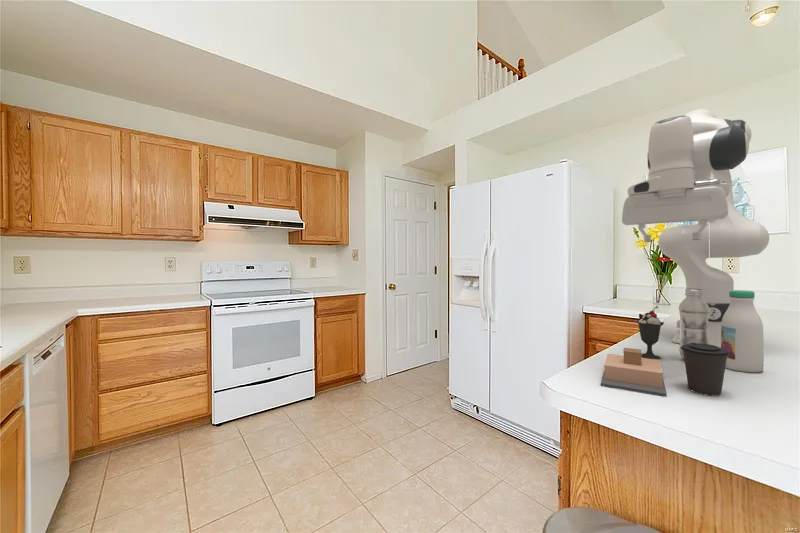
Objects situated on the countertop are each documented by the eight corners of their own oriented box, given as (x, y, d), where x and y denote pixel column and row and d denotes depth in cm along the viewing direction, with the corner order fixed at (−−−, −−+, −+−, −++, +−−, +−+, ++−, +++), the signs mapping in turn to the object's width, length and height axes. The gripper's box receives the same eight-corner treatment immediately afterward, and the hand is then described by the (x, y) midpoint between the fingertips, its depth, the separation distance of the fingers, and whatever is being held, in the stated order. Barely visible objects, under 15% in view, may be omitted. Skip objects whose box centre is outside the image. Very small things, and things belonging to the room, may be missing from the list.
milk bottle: (762, 367, 88) (762, 290, 87) (764, 375, 82) (764, 293, 82) (721, 361, 93) (721, 288, 93) (720, 369, 88) (720, 291, 87)
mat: (606, 364, 94) (606, 362, 94) (661, 371, 87) (661, 369, 87) (600, 385, 79) (600, 383, 79) (666, 396, 72) (666, 393, 72)
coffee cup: (682, 381, 80) (682, 338, 80) (730, 389, 75) (730, 344, 74) (678, 391, 74) (678, 346, 74) (730, 401, 69) (730, 352, 68)
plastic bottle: (717, 365, 91) (716, 290, 90) (687, 364, 92) (687, 290, 91) (700, 358, 97) (700, 287, 96) (673, 357, 98) (673, 288, 98)
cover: (607, 366, 90) (607, 342, 90) (659, 373, 84) (659, 347, 84) (604, 378, 81) (604, 352, 81) (662, 388, 75) (662, 359, 75)
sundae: (666, 361, 95) (666, 307, 94) (637, 358, 98) (636, 306, 98) (662, 355, 101) (662, 304, 100) (634, 352, 104) (634, 303, 103)
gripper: (726, 180, 80) (726, 239, 80) (622, 191, 92) (622, 243, 92) (732, 175, 75) (732, 238, 75) (621, 188, 87) (621, 242, 87)
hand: (671, 241), depth 84 cm, fingers open, 8 cm apart
